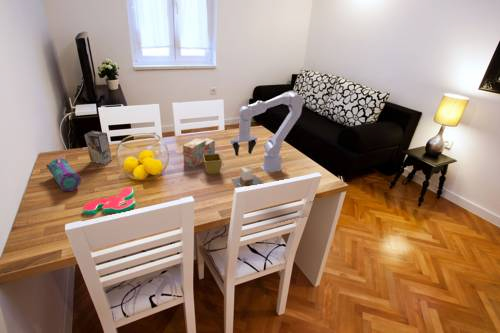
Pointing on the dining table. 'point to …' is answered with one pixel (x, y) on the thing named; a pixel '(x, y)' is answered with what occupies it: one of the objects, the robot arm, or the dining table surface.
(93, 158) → the coffee box
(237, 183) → the blueprint mat
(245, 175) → the top block
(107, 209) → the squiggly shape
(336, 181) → the dining table surface
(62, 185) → the pencil case
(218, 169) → the flower pot
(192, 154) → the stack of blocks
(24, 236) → the dining table surface
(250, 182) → the base block
